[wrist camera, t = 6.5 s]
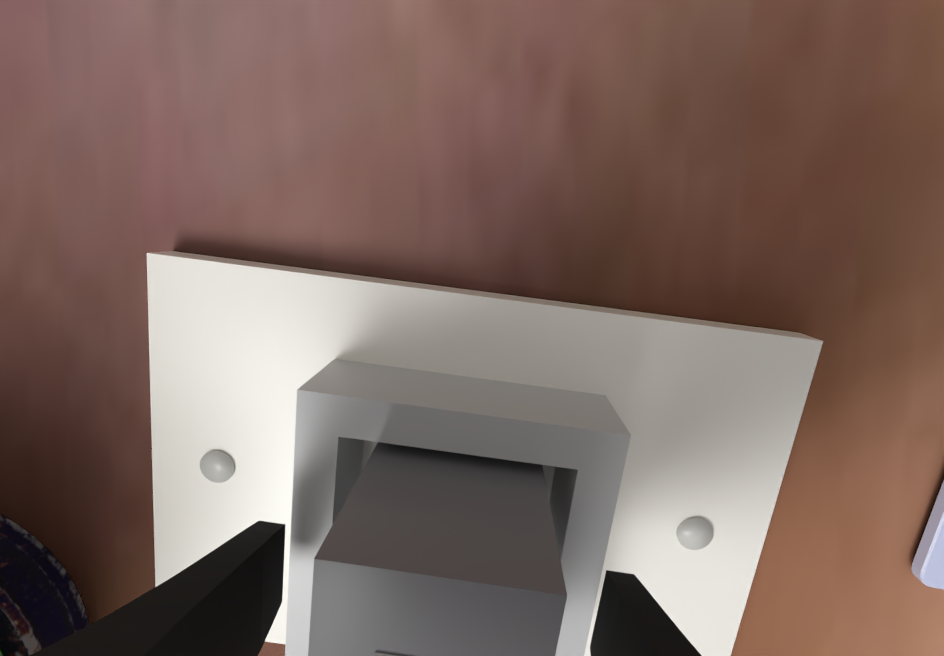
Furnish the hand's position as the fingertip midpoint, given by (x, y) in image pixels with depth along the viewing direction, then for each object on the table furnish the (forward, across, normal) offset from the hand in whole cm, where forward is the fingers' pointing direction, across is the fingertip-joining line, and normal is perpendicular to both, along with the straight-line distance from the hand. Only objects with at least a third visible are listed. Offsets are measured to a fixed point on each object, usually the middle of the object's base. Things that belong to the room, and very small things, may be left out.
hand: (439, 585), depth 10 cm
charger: (+3, 0, 0) cm, 3 cm away
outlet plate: (+4, 0, 0) cm, 4 cm away
